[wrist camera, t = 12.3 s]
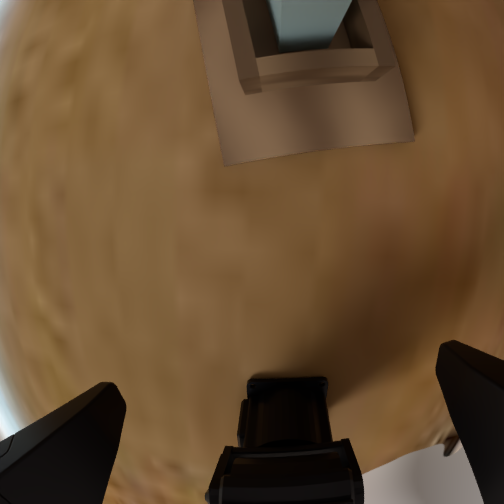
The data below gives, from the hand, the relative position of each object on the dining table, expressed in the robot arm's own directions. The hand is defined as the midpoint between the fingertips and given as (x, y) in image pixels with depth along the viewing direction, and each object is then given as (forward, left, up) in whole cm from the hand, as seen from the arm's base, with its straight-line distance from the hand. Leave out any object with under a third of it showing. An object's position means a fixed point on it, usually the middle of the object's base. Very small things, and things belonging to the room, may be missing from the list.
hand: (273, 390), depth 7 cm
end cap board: (-2, -15, -13) cm, 20 cm away
